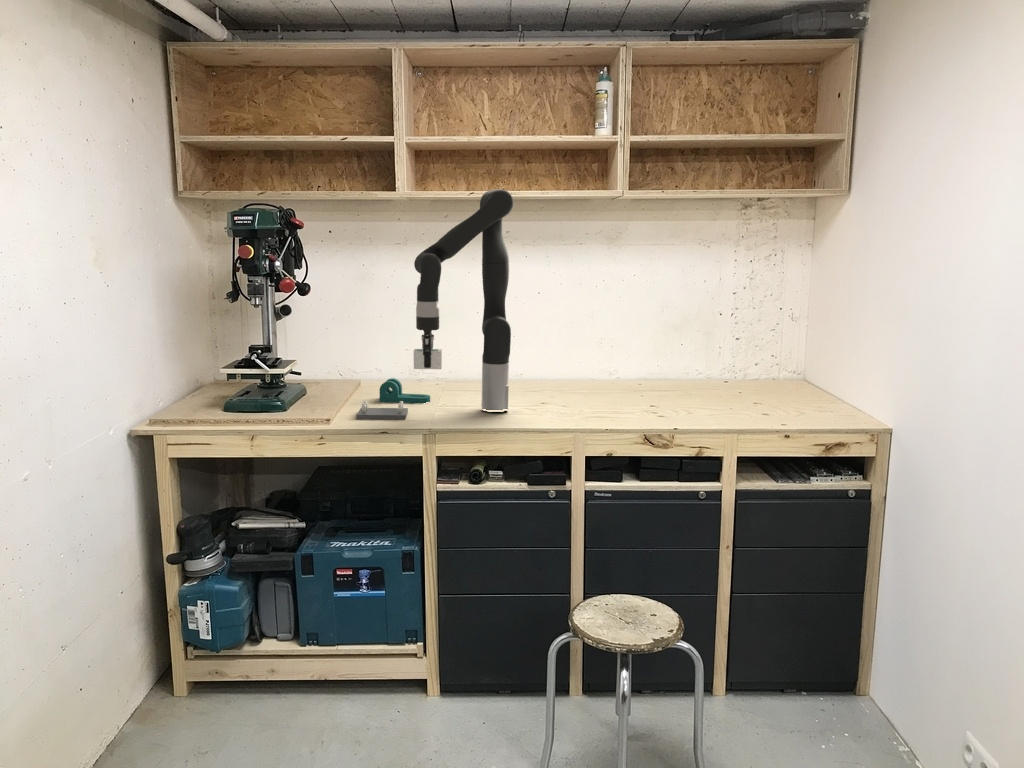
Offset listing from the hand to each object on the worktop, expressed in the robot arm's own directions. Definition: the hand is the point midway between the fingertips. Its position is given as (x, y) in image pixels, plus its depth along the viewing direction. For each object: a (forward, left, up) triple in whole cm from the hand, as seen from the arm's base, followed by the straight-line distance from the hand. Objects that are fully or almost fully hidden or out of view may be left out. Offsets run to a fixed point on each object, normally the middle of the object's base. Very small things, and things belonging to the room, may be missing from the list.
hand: (427, 366), depth 228 cm
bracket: (+9, -23, -18) cm, 30 cm away
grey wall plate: (+15, 0, -17) cm, 23 cm away
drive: (0, 0, -1) cm, 1 cm away
